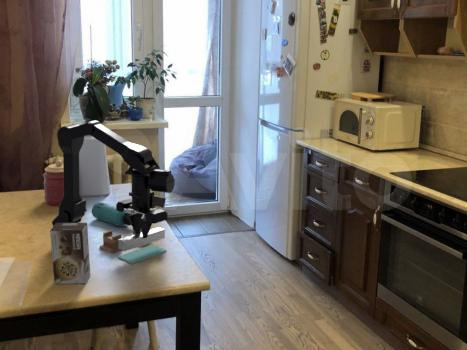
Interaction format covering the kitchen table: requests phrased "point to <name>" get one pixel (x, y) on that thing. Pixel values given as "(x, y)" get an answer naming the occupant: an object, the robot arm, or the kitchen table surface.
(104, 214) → the beverage bottle
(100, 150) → the plastic bottle
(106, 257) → the kitchen table surface
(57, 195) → the canister
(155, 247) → the mat
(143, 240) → the rail
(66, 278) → the coffee box
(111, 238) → the rack
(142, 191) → the robot arm
